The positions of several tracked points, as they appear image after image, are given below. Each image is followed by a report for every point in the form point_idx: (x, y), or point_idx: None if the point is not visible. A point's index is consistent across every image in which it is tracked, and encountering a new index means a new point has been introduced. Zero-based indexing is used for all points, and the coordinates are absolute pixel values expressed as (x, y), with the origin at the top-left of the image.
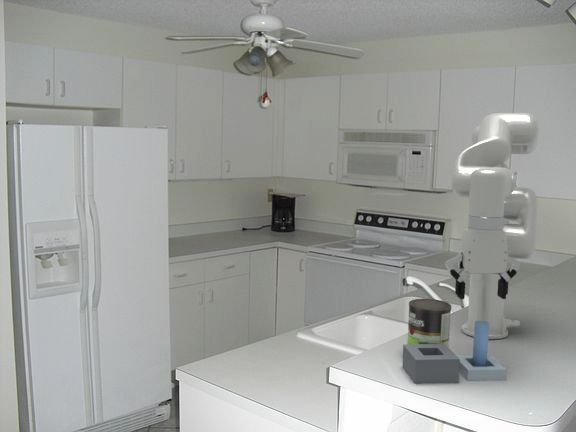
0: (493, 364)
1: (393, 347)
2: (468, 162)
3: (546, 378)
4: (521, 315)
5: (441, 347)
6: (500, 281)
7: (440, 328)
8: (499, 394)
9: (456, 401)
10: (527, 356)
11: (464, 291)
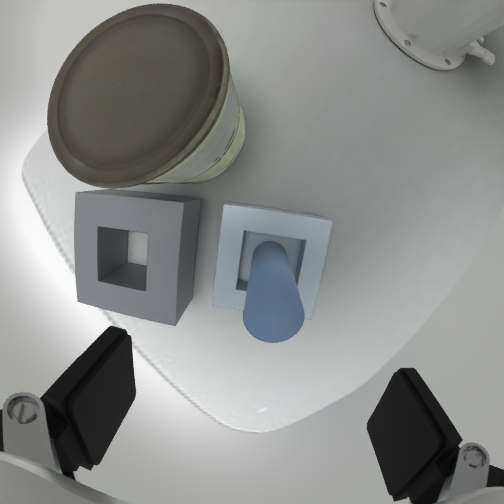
0: (298, 286)
1: None
2: None
3: (399, 301)
4: None
5: (160, 233)
6: (415, 470)
7: (161, 182)
8: (254, 352)
9: (159, 355)
10: (444, 179)
11: (117, 425)
